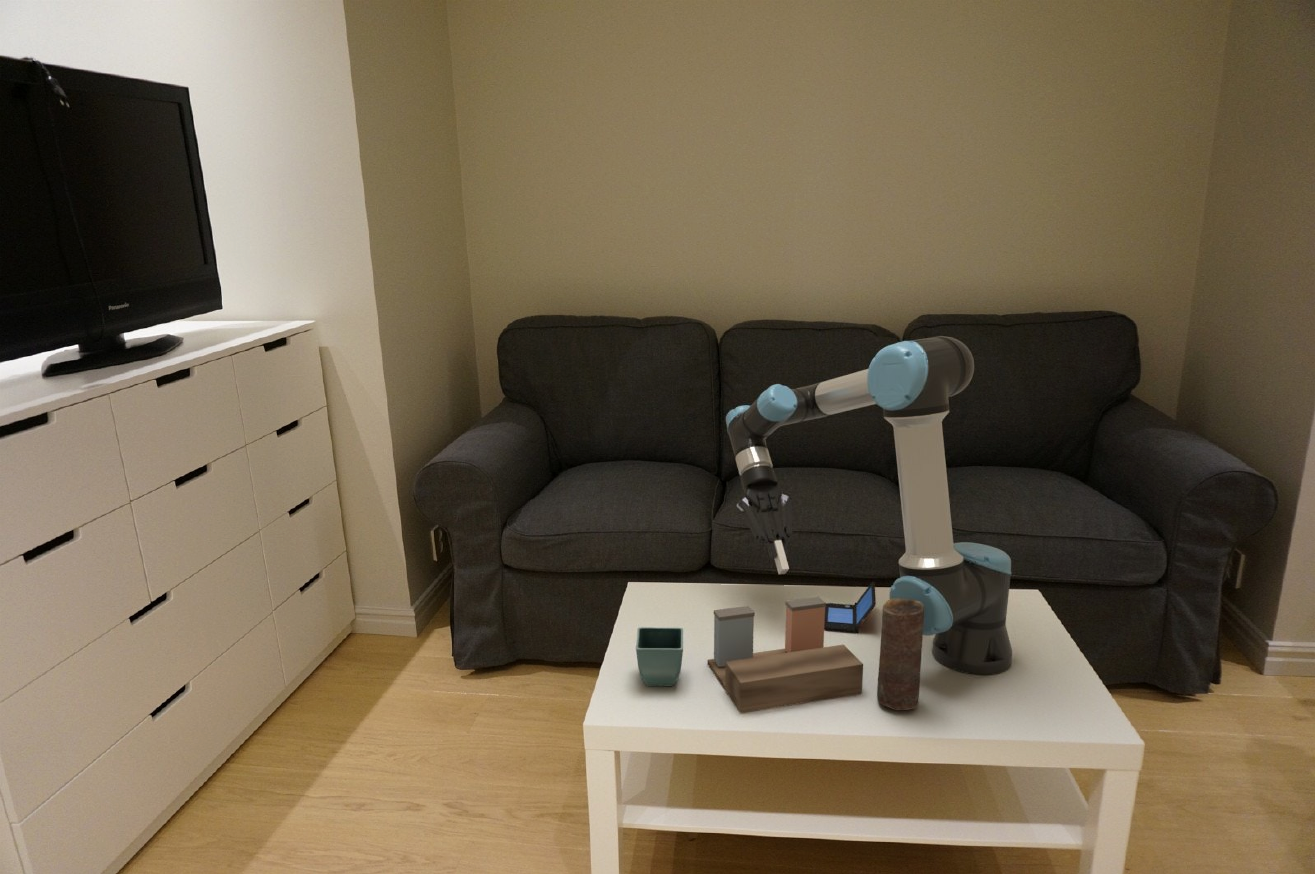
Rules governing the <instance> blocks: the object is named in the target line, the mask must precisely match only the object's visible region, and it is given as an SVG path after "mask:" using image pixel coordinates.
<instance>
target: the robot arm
mask: <svg viewBox="0 0 1315 874" xmlns="http://www.w3.org/2000/svg"><path fill="white" fill-rule="evenodd" d="M972 354H973V353H972V351H971V350H970V349H969V348H968V346H967V345H966V344H965V343H963V342H962V341H960V340H959V339H956V338H954V337H950V336H943V335H940V336H932V337H927V338H919V339H914V340H913V339H911V340H903V341H899V342H896V343H893V344H889V345H887V346H885V347H883V348H882V349H880V350H879V351H878V352H877V353H876V355H875V356H874V357H873V358H872V360H871V362H870V364H869V366H868V368H867V369H863V370H859V371H856V372H853V373H849V374H847V375H846V374H845V375H842V376H839V377H835V378H832V379H831V378H830V379H828V380H825V381H821V382H817V383H814V384H810V385H807V386H801V387H796V388H790V387H789V386H787V385H782V384H780V383H776V384H772V385H770V386H769V387H768V388H767V389H765V390H764V391H763V392H762V393H760V395H759V396H758V397H757V398H756V400H754V402H753V403H752V404H751V405H738V406H737V407H735V408H734V409H730V410H729V411H728V413H727V414H726V416H725V422H726V427H727V428H726V431H727V434H728V436H729V437H728V438H729V440H730V444H731V447H732V448H731V449H732V451H733V455H734V458H735V462H736V467H737V469H738V474H739V476H740V481H741V486H742V489H743V492H744V495H743V498H742V499H740V500H738V502H737V504H736V505H735V509H736V510H738V511H737V512H739V513H741V515H742V516H743V518H744V521H745V523H746V525H747V526H748V528H749V530H750V532H751V533H752V536H753V537H754V539H755V541H756V543H757V544H764V546H765V548H767V552H768V555H769V558H770V559H771V560H772V559H773V560H774V562H775V566H776V569H777V573H778V575H786V574H787V572H788V571H789V570H790V568H789V563H788V561H787V557H788V556H789V549H788V545H787V541H789V540H790V539H791V537H792V536H793V513H792V511H793V510H792V504H793V501H794V499H795V497H794V496H793V495H792V494H789V495H786V494H783V491H782V490H781V488H780V487H779V485H778V480H777V476H776V473H775V470H774V468H773V466H774V465H773V463H772V459H771V456H770V452H769V448H768V445H767V442H766V439H767V438H769V436H770V435H772V434H773V433H774V432H775V431H776V430H777V429H778V428H780V427H782V426H787V425H791V424H797V423H801V422H806V421H811V420H815V419H821V418H827V417H828V416H831V415H835V414H839V413H844V412H847V411H852V410H856V409H860V408H865V407H869V406H874V405H877V406H879V407H880V408H882V411H883V412H882V413H883V418H884V419H885V420H886V421H887V422H888V423H889V424H891V425H892V427H893V438H894V447H895V455H896V457H895V458H896V464H897V466H896V467H897V475H898V486H899V494H900V504H901V514H902V515H901V516H902V524H903V525H902V526H903V533H904V545H905V546H904V547H905V552H904V554H903V555H902V556H901V557H900V558H899V559H898V567H899V578H897V579H896V580H895V581H894V582H893V585H891V586H890V590H889V599H894V598H896V599H897V598H899V599H902V600H904V599H911V600H916V601H919V602H922V603H923V605H924V607H925V611H924V624H923V637H925V636H927V637H928V636H934V637H933V640H932V648H931V652H932V653H931V654H932V655H933V657H934V659H936V661H937V662H938V663H940V664H942V665H943V666H945V667H947V668H950V669H951V670H955V671H957V672H961V673H965V674H970V675H981V676H982V675H984V676H985V675H986V676H987V675H997V674H1000V673H1003V672H1005V671H1007V670H1008V669H1009V668H1010V667H1011V666H1012V662H1013V648H1012V643H1011V640H1010V637H1009V633H1008V631H1007V625H1006V624H1007V613H1008V605H1009V594H1010V585H1011V584H1010V583H1011V575H1012V560H1011V557H1010V556H1009V554H1007V552H1005V551H1003V550H1001V549H1000V548H998V547H994V546H991V545H987V544H983V543H977V542H966V541H965V542H964V541H961V542H954V537H953V528H952V527H953V525H952V517H951V516H952V515H951V508H950V507H951V506H950V504H951V503H950V497H949V494H950V493H949V486H948V484H949V483H948V474H947V464H946V462H947V461H946V455H945V452H946V451H945V443H944V434H943V423H942V422H943V421H944V419H945V417H946V416H947V415H948V414H949V413H950V404H949V403H950V402H949V398H950V397H953V396H955V395H957V394H960V393H961V392H962V391H963V390H965V389H966V388H967V387H968V386H969V384H970V382H971V380H972V379H973V375H974V371H975V362H974V361H975V360H974V357H973V355H972ZM780 501H781V503H780ZM779 503H780V504H781V506H782V521H781V518H780V517H781V516H780V513H779V506H778V504H779ZM751 508H753V510H754V511H755V513H756V516H757V518H758V520H757V518H756V516H755V514H754V512H753V510H752V509H751ZM758 521H759V522H758ZM774 537H775V538H774ZM774 539H775V540H774Z"/></svg>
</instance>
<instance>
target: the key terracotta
mask: <svg viewBox="0 0 1315 874" xmlns="http://www.w3.org/2000/svg"><path fill="white" fill-rule="evenodd" d="M784 603H785V625H784V626H785V631H784V634H785V635H784V636H785V637H784V649H785V650H786V652H787V653H789V652H796V651H803V650H809V649H816V648H823V647H825V645H824V644H825V630H824V622H825V607H826V603H827V602H825V601H824V600H823V599H822V598H821V597H820V596H814V597H813V596H812V597H805V598H797V599H790V600H785V602H784Z"/></svg>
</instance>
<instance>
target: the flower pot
mask: <svg viewBox="0 0 1315 874" xmlns="http://www.w3.org/2000/svg"><path fill="white" fill-rule="evenodd" d="M635 645H636V646H635V652H636V659H637V667H638V673H639V675H640V677H641V679H642V682H643V683H644V684H645V685H646V686H647V687H673V686H674V685H675V683H676V682H677V681H678V679H679V676H680V674H681V671H682V670H681V669H682V662H683V653H684V629H683V628H682V627H647V626H646V627H644V626H643V627H638V628H637V633H636V644H635Z"/></svg>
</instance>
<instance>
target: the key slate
mask: <svg viewBox="0 0 1315 874" xmlns="http://www.w3.org/2000/svg"><path fill="white" fill-rule="evenodd" d="M713 616H714V618H713V619H714V620H713V622H714V623H713V625H714V627H713V639H714V640H713V659H714V661H715V662H716V664H717V665H718V666H719V667H724V666H726V662H727V661H734V660H741V659H748V658H753V653H754V629H755V628H754V623H755V622H754V619H755V611H754V610H753V609H752V608H751V606H750V605H743V606H736V607H729V608H721V609H719V608H718V609H714V610H713Z"/></svg>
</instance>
